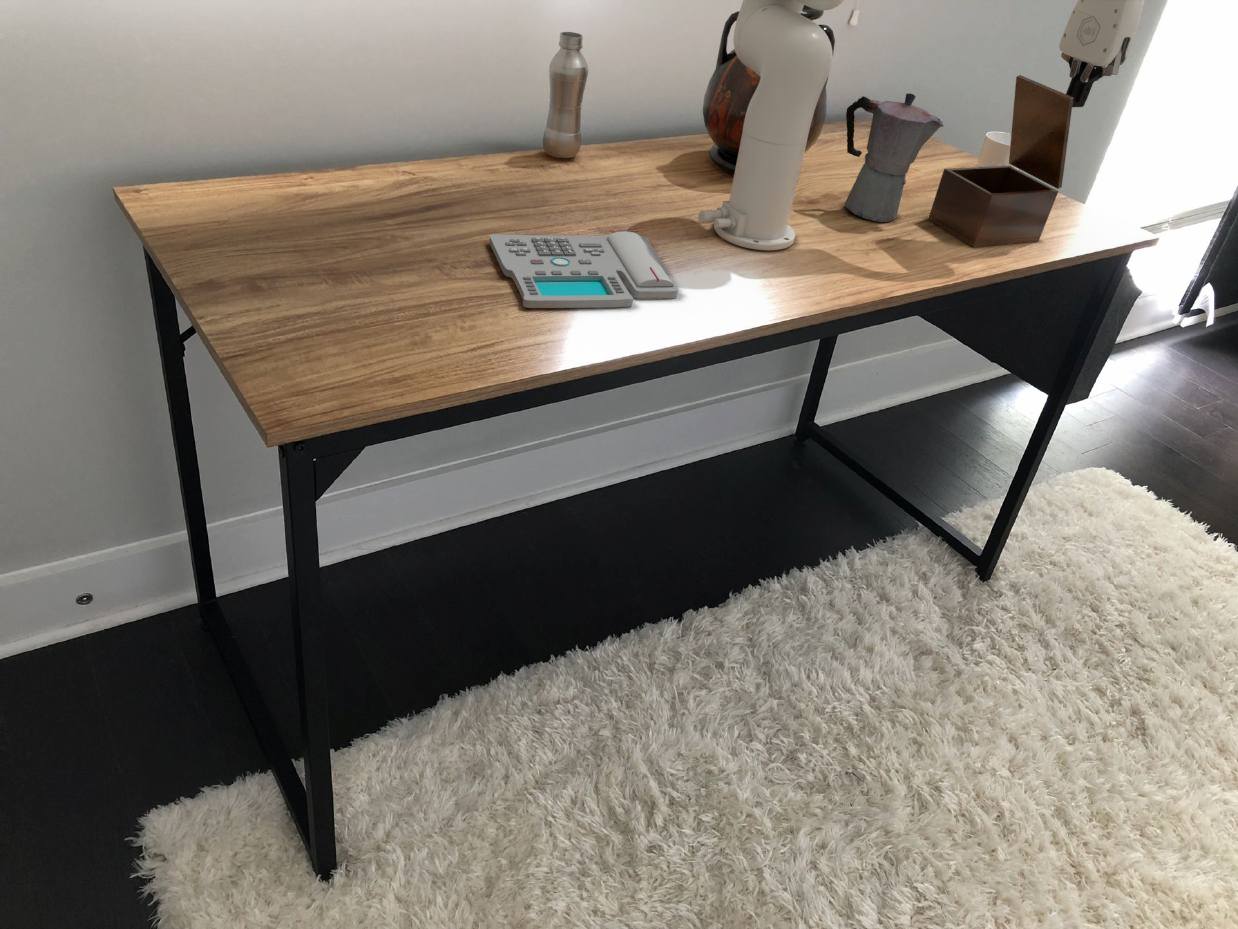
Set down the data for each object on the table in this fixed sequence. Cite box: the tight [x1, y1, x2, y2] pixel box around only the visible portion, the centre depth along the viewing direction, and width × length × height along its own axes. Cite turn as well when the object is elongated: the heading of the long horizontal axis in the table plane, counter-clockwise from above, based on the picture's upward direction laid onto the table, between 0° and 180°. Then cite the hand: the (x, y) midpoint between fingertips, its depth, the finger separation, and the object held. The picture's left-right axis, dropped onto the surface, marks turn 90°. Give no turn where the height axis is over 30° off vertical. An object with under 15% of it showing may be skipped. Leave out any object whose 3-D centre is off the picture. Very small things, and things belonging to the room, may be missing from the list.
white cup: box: [976, 131, 1020, 171], centre depth 179 cm, size 8×8×10 cm
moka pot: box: [844, 93, 945, 223], centre depth 160 cm, size 10×15×20 cm, turn 78°
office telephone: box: [489, 231, 679, 309], centre depth 133 cm, size 23×3×20 cm
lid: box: [1009, 74, 1073, 190], centre depth 158 cm, size 15×12×1 cm
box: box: [927, 165, 1059, 248], centre depth 163 cm, size 15×12×9 cm
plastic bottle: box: [542, 31, 589, 159], centre depth 164 cm, size 6×7×20 cm
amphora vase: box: [701, 5, 836, 176], centre depth 169 cm, size 22×22×28 cm
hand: (1072, 105), depth 157 cm, fingers closed
